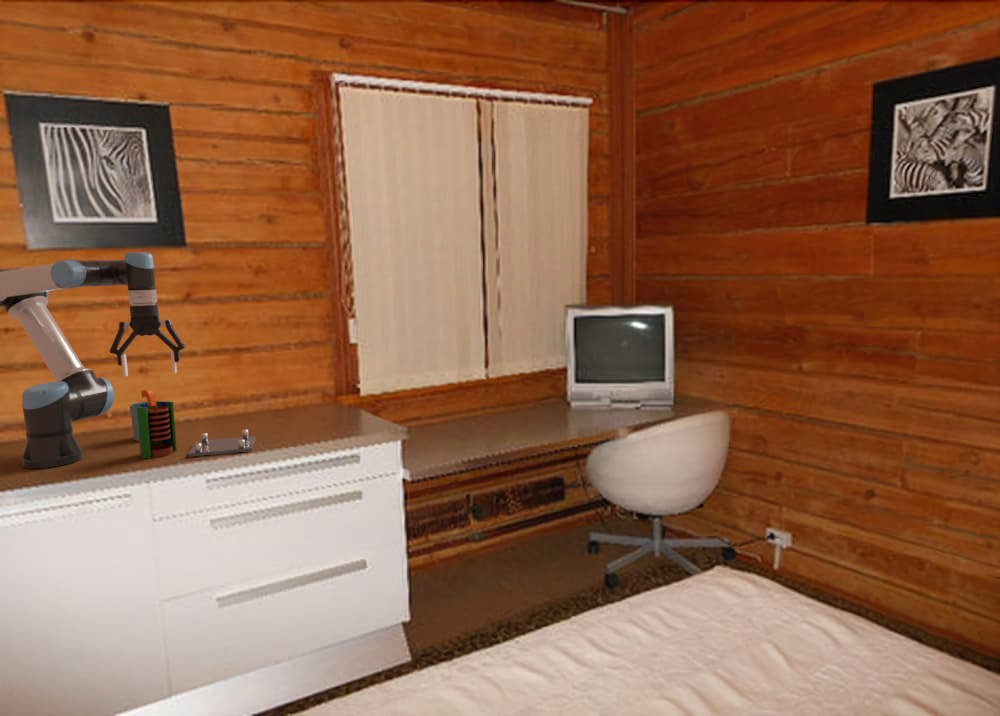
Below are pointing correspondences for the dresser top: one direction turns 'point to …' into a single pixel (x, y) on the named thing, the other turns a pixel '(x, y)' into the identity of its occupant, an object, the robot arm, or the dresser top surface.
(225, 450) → the mounting plate
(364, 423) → the dresser top surface
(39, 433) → the robot arm
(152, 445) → the motor
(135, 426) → the grey embossed cup
